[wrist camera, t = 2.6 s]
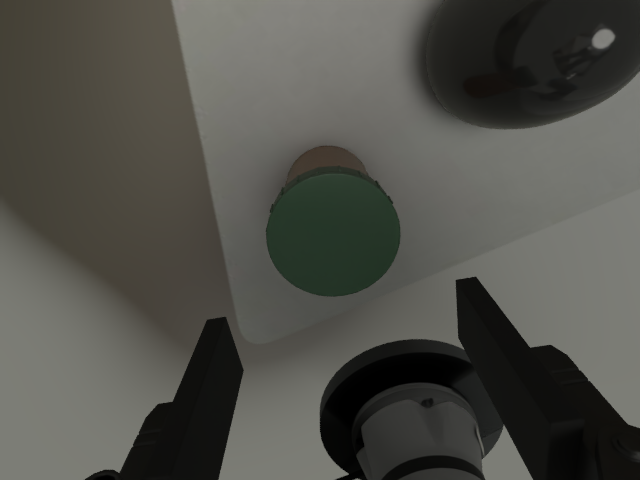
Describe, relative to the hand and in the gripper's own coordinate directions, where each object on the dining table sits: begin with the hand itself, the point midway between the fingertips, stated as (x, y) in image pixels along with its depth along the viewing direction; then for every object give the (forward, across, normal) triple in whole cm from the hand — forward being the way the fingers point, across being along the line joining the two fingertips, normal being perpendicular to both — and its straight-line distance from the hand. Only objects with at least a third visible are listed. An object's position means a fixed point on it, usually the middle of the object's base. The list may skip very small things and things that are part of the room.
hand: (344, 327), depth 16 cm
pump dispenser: (+20, +13, +8) cm, 26 cm away
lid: (+10, 0, 0) cm, 10 cm away
